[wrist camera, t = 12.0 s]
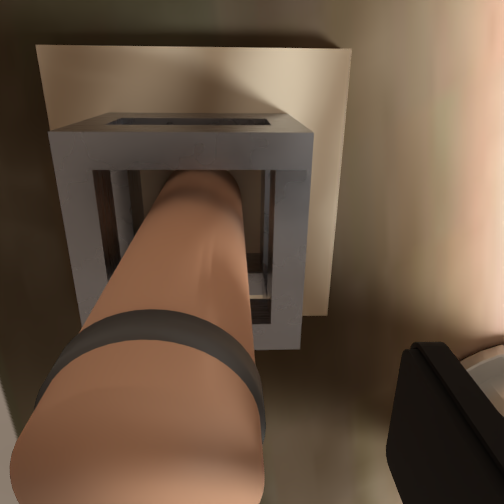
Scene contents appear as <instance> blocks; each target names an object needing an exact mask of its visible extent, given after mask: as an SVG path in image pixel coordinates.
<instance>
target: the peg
mask: <svg viewBox="0 0 504 504" xmlns="http://www.w3.org/2000/svg"><path fill="white" fill-rule="evenodd" d="M265 429H266V422H265V409H264V400H263V390H262V383H261V379H260V375H259V372H258V370H257V367H256V365H255V355H254V343H253V331H252V319H251V307H250V296H249V284H248V272H247V260H246V249H245V237H244V225H243V213H242V201H241V193H240V189H239V186H238V184H237V182H236V180H235V179H234V177H233V176H232V175H231V174H230V173H229V172H228V171H227V170H175V171H174V172H173V173H172V174H171V175H170V176H169V178H168V179H167V181H166V183H165V184H164V186H163V188H162V190H161V191H160V193H159V195H158V197H157V198H156V200H155V202H154V204H153V205H152V207H151V209H150V210H149V212H148V214H147V216H146V217H145V219H144V221H143V223H142V224H141V226H140V228H139V230H138V231H137V233H136V235H135V236H134V238H133V240H132V242H131V243H130V245H129V247H128V249H127V250H126V252H125V254H124V256H123V257H122V259H121V261H120V263H119V264H118V266H117V268H116V269H115V271H114V273H113V275H112V276H111V278H110V280H109V282H108V283H107V285H106V287H105V289H104V290H103V292H102V294H101V296H100V297H99V299H98V301H97V302H96V304H95V306H94V308H93V309H92V311H91V313H90V315H89V316H88V318H87V320H86V322H85V323H84V325H83V327H82V329H81V330H80V332H79V334H77V335H76V336H75V337H74V338H73V339H72V340H71V341H70V342H69V343H68V344H67V346H66V347H65V348H64V349H63V351H62V353H61V354H60V356H59V358H58V359H57V361H56V363H55V364H54V366H53V368H52V369H51V371H50V373H49V374H48V376H47V378H46V379H45V381H44V383H43V384H42V386H41V388H40V390H39V393H38V395H37V398H36V402H35V407H34V412H33V414H32V415H31V417H30V419H29V421H28V422H27V424H26V426H25V427H24V429H23V431H22V433H21V434H20V436H19V438H18V440H17V441H16V444H15V446H14V449H13V452H12V456H11V461H10V479H11V484H12V488H13V491H14V493H15V496H16V498H17V500H18V502H19V504H259V503H260V500H261V497H262V494H263V491H264V482H265V474H264V461H263V449H262V444H263V441H264V437H265Z"/></svg>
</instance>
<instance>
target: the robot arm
mask: <svg viewBox="0 0 504 504" xmlns="http://www.w3.org/2000/svg"><path fill="white" fill-rule="evenodd" d="M386 457H387V462H388V466H389V469H390V471H391V474H392V476H393V479H394V482H395V484H396V487H397V489H398V492H399V495H400V497H401V500H402V502H403V504H504V345H499V346H495V347H492V348H489V349H486V350H483V351H480V352H478V353H476V354H474V355H472V356H470V357H467V358H465V359H464V360H462V361H461V362H459V360H458V359H457V358H456V356H455V355H454V354H453V353H452V351H451V350H450V349H449V347H448V346H447V345H446V344H445V343H443V342H415V343H413V344H412V346H411V348H410V349H406V350H404V351H403V353H402V358H401V363H400V369H399V375H398V381H397V387H396V392H395V398H394V404H393V410H392V416H391V421H390V427H389V433H388V439H387V445H386Z"/></svg>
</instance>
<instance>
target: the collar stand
mask: <svg viewBox="0 0 504 504" xmlns="http://www.w3.org/2000/svg"><path fill="white" fill-rule="evenodd" d="M36 51H37V57H38V63H39V68H40V74H41V80H42V86H43V92H44V97H45V103H46V109H47V115H48V120H49V126H50V131H48V136H49V142H50V148H51V153H52V159H53V165H54V170H55V176H56V182H57V188H58V193H59V199H60V205H61V210H62V216H63V222H64V227H65V233H66V239H67V245H68V250H69V256H70V262H71V267H72V273H73V279H74V284H75V290H76V296H77V301H78V307H79V313H80V319H81V324H82V327H83V325H84V323H85V322H86V320H87V318H88V316H89V315H90V313H91V311H92V309H93V308H94V306H95V304H96V302H97V301H98V299H99V297H100V296H101V294H102V292H103V290H104V289H105V287H106V285H107V283H108V282H109V280H110V278H111V276H112V275H113V273H114V271H115V269H116V268H117V266H118V264H119V263H120V261H121V259H122V257H123V256H124V254H125V252H126V250H127V249H128V247H129V245H130V243H131V242H132V240H133V238H134V236H135V235H136V233H137V231H138V230H139V228H140V226H141V224H142V223H143V221H144V219H145V217H146V216H147V214H148V212H149V210H150V209H151V207H152V205H153V204H154V202H155V200H156V198H157V197H158V195H159V193H160V191H161V190H162V188H163V186H164V184H165V183H166V181H167V179H168V178H169V176H170V175H171V174H172V173H173V172H174V171H175V170H227V171H228V172H229V173H230V174H231V175H232V176H233V177H234V179H235V180H236V182H237V184H238V186H239V189H240V193H241V201H242V213H243V225H244V237H245V249H246V260H247V272H248V284H249V296H250V307H251V319H252V331H253V343H254V350H286V349H300V341H301V325H302V316H327V313H328V302H329V291H330V280H331V269H332V259H333V248H334V237H335V226H336V215H337V205H338V194H339V183H340V172H341V161H342V151H343V140H344V129H345V118H346V107H347V96H348V86H349V75H350V64H351V53H352V49H322V48H245V47H168V46H91V45H36Z"/></svg>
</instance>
